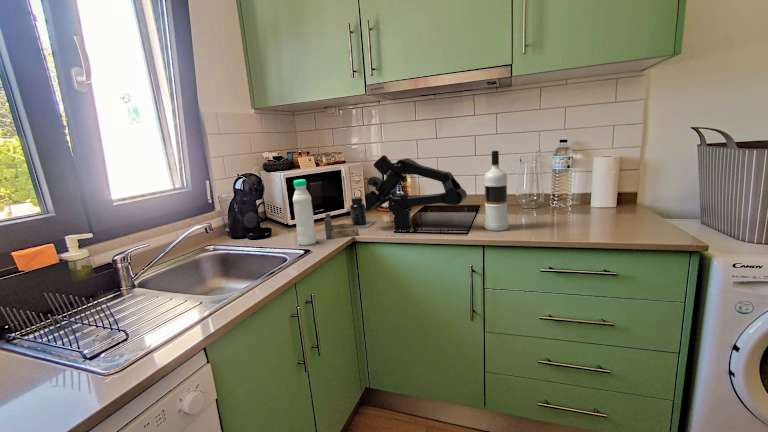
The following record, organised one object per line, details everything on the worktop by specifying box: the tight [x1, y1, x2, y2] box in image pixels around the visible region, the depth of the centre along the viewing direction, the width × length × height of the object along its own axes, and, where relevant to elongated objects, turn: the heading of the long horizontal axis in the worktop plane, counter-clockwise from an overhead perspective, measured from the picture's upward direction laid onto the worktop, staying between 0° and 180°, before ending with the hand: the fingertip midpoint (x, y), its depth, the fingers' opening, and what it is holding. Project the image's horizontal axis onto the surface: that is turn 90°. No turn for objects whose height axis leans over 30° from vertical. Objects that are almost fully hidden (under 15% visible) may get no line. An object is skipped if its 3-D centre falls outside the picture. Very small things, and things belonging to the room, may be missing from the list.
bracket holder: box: [323, 212, 358, 240], centre depth 156 cm, size 12×13×8 cm
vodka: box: [483, 150, 510, 232], centre depth 142 cm, size 9×9×30 cm
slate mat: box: [349, 220, 377, 229], centre depth 170 cm, size 12×12×1 cm
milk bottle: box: [292, 178, 317, 246], centre depth 144 cm, size 7×7×25 cm
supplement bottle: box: [349, 196, 367, 226], centre depth 169 cm, size 7×7×12 cm
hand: (371, 208), depth 165 cm, fingers open, 9 cm apart
